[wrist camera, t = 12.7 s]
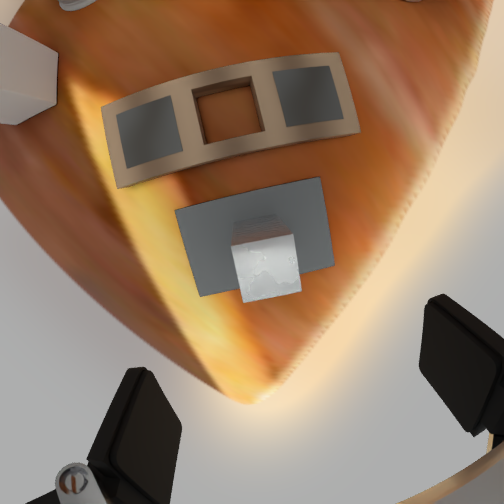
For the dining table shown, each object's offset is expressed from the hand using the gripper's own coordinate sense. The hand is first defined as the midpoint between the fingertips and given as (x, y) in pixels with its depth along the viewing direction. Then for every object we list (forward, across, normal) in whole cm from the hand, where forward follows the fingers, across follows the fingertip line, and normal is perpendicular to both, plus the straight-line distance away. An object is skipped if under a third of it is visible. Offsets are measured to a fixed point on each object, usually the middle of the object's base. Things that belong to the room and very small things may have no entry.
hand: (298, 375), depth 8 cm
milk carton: (+20, +21, -24) cm, 38 cm away
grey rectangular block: (+20, 0, 0) cm, 20 cm away
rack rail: (+20, 0, -12) cm, 23 cm away
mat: (+20, 0, 0) cm, 20 cm away
